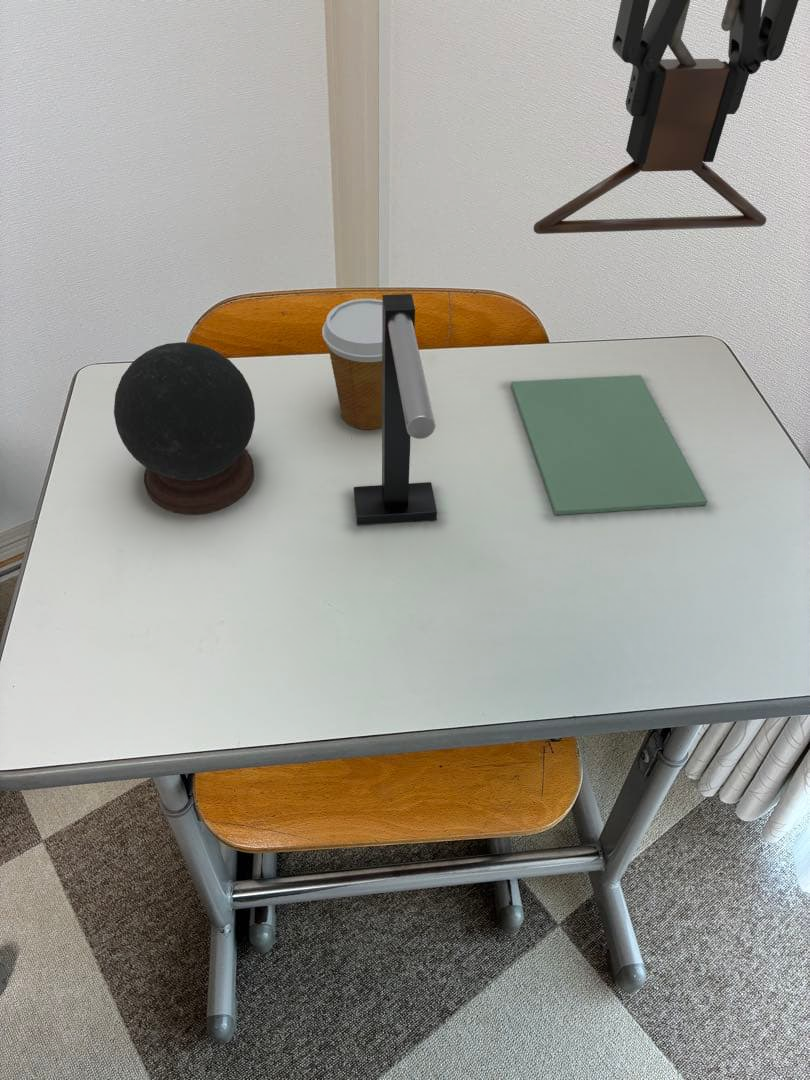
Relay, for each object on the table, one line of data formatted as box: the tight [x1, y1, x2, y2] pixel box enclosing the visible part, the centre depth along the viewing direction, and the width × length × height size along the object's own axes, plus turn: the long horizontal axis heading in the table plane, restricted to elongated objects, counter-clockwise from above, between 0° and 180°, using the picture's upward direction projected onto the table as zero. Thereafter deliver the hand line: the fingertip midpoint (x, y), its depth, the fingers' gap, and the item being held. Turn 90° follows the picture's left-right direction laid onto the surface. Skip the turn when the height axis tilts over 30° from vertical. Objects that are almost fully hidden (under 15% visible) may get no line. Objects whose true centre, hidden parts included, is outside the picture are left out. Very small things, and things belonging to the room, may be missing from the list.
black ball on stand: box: [113, 341, 256, 515], centre depth 78 cm, size 13×13×15 cm
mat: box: [510, 374, 708, 516], centre depth 89 cm, size 22×16×1 cm
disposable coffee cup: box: [321, 298, 382, 430], centre depth 87 cm, size 10×10×12 cm
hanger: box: [533, 0, 767, 235], centre depth 63 cm, size 21×2×18 cm, turn 97°
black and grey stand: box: [353, 293, 438, 526], centre depth 68 cm, size 8×17×23 cm, turn 7°
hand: (669, 155), depth 65 cm, fingers closed on hanger, 5 cm apart
